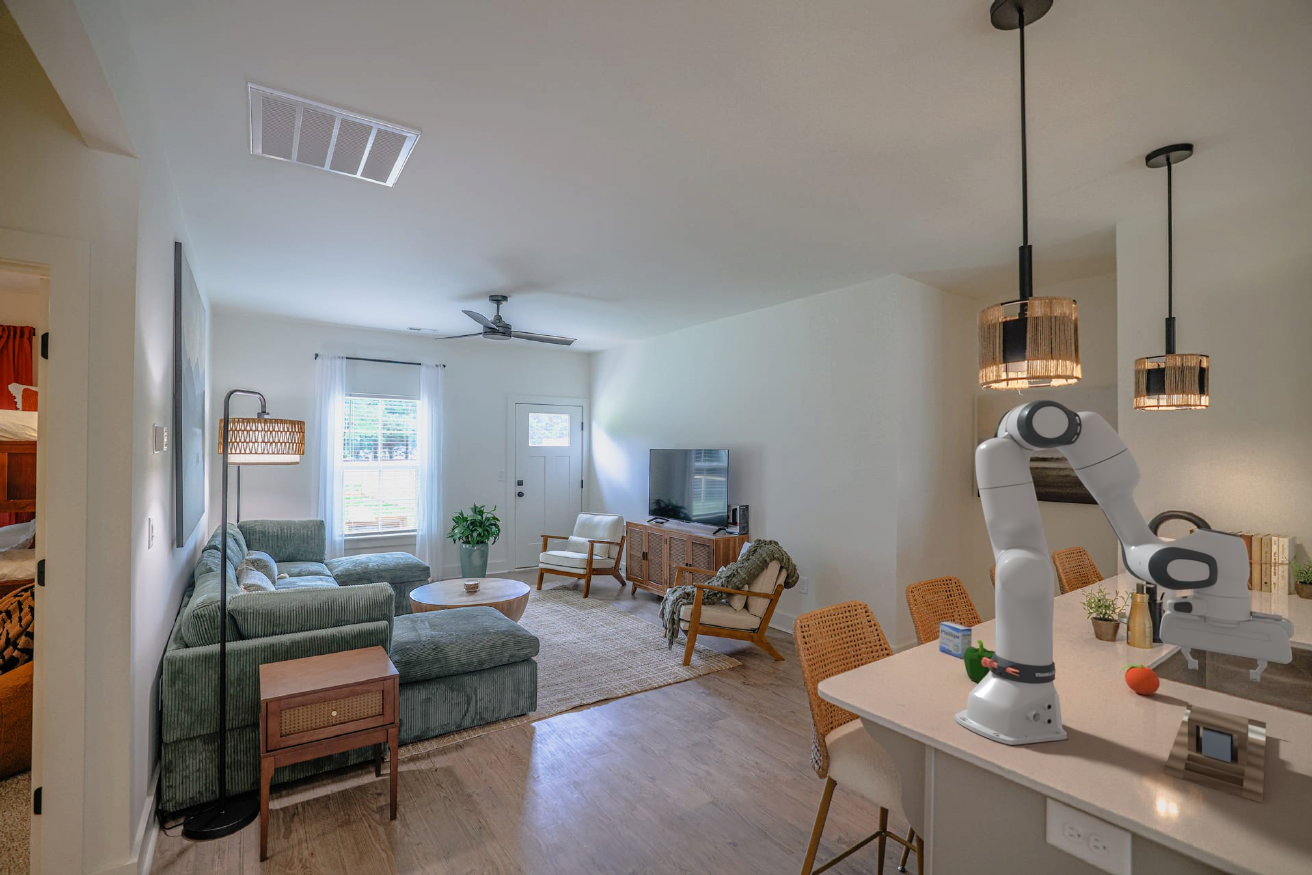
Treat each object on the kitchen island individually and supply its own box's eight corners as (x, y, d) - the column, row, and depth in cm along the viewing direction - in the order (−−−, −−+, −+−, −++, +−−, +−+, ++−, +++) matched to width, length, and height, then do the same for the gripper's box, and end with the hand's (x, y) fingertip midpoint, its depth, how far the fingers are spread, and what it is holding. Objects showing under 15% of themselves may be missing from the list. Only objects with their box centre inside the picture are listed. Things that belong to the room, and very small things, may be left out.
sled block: (1230, 762, 116) (1230, 738, 116) (1202, 754, 119) (1202, 731, 119) (1234, 736, 127) (1234, 714, 127) (1208, 729, 130) (1208, 708, 130)
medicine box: (938, 650, 185) (939, 622, 186) (949, 649, 187) (949, 620, 187) (961, 659, 178) (961, 629, 178) (971, 657, 180) (972, 627, 180)
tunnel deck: (1262, 802, 106) (1262, 757, 106) (1165, 773, 115) (1165, 731, 115) (1265, 735, 132) (1265, 698, 132) (1186, 715, 141) (1186, 681, 142)
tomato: (1122, 694, 154) (1122, 666, 154) (1117, 685, 160) (1117, 658, 160) (1163, 701, 150) (1163, 671, 150) (1155, 691, 156) (1155, 663, 156)
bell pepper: (996, 689, 155) (996, 649, 156) (961, 681, 160) (961, 642, 161) (1001, 679, 162) (1002, 641, 162) (967, 672, 167) (967, 635, 167)
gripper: (1292, 613, 123) (1295, 683, 122) (1161, 597, 137) (1162, 659, 137) (1293, 619, 118) (1295, 691, 118) (1157, 601, 133) (1159, 665, 132)
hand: (1223, 674), depth 127 cm, fingers open, 8 cm apart
